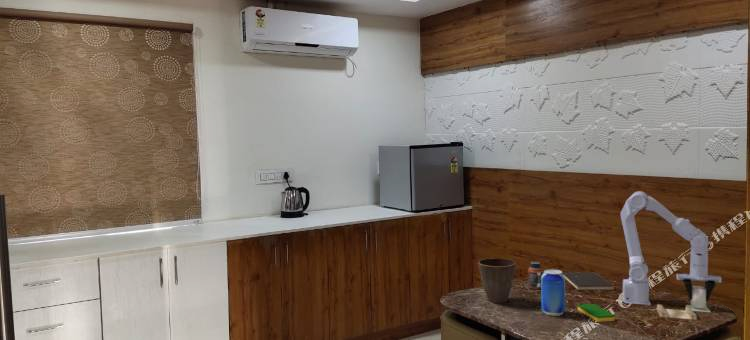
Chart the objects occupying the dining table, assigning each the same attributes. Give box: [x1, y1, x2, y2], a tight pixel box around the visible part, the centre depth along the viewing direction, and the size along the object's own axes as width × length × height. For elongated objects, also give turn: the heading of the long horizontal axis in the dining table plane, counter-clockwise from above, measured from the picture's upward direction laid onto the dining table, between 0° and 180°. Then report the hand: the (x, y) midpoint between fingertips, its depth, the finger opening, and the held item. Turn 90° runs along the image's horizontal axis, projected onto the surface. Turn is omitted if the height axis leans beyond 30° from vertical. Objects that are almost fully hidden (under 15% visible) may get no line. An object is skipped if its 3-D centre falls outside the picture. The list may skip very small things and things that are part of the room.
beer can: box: [540, 268, 566, 317], centre depth 201 cm, size 8×8×16 cm
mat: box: [685, 304, 712, 313], centre depth 201 cm, size 7×7×1 cm
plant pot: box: [478, 257, 516, 304], centre depth 217 cm, size 15×15×16 cm
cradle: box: [655, 303, 699, 321], centre depth 196 cm, size 12×10×2 cm
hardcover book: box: [562, 271, 616, 291], centre depth 241 cm, size 16×23×2 cm
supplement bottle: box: [527, 261, 543, 290], centre depth 234 cm, size 6×6×11 cm
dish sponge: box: [577, 303, 616, 323], centre depth 198 cm, size 7×14×2 cm, turn 8°
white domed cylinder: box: [690, 285, 707, 308], centre depth 202 cm, size 5×6×7 cm
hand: (698, 299), depth 201 cm, fingers closed on white domed cylinder, 5 cm apart
